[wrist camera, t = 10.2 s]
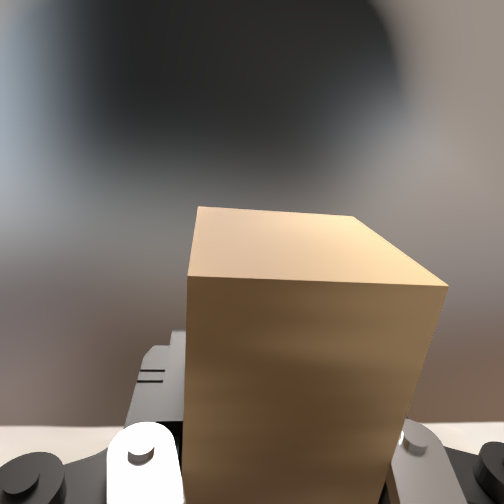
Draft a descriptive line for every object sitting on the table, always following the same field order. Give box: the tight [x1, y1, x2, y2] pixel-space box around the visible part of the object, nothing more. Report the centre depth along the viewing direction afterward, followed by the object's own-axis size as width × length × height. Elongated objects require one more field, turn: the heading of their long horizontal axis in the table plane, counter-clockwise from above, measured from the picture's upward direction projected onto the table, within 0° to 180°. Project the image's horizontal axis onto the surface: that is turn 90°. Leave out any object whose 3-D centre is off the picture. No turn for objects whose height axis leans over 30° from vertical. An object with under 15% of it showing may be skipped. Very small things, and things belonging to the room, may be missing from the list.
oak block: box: [182, 206, 449, 504], centre depth 9 cm, size 4×4×12 cm
